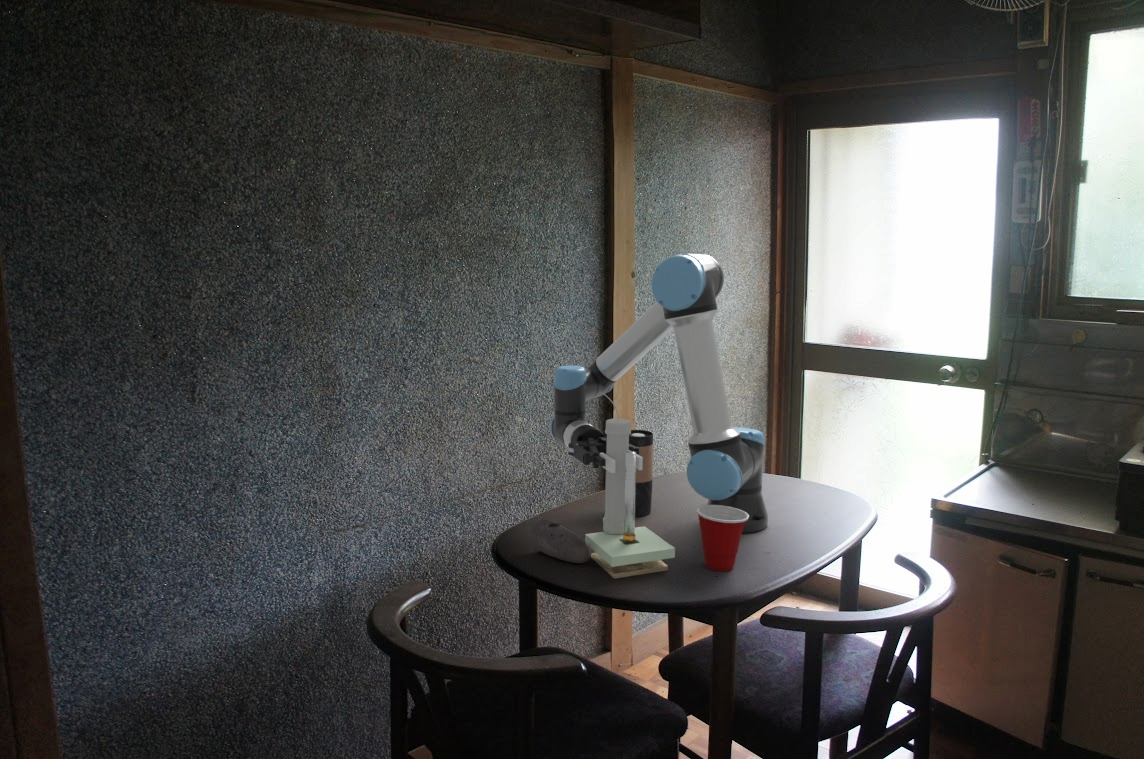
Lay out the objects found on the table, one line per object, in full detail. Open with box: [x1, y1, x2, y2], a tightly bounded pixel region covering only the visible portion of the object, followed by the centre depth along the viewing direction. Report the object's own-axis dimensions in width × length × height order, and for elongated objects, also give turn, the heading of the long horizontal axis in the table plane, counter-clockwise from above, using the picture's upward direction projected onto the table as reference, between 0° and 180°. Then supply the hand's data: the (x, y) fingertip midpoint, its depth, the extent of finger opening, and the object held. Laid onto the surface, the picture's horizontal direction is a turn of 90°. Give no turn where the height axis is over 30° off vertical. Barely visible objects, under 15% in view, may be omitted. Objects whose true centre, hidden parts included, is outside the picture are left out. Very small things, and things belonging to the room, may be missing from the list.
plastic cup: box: [695, 504, 749, 572], centre depth 177 cm, size 11×11×12 cm
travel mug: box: [629, 429, 654, 517], centre depth 210 cm, size 8×8×20 cm
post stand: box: [590, 451, 669, 579], centre depth 177 cm, size 12×12×24 cm
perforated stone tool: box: [531, 519, 590, 564], centre depth 181 cm, size 15×5×7 cm, turn 44°
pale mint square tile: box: [584, 526, 676, 567], centre depth 178 cm, size 14×14×2 cm
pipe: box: [602, 393, 632, 535], centre depth 181 cm, size 6×6×30 cm
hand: (627, 465), depth 176 cm, fingers closed on pipe, 5 cm apart
